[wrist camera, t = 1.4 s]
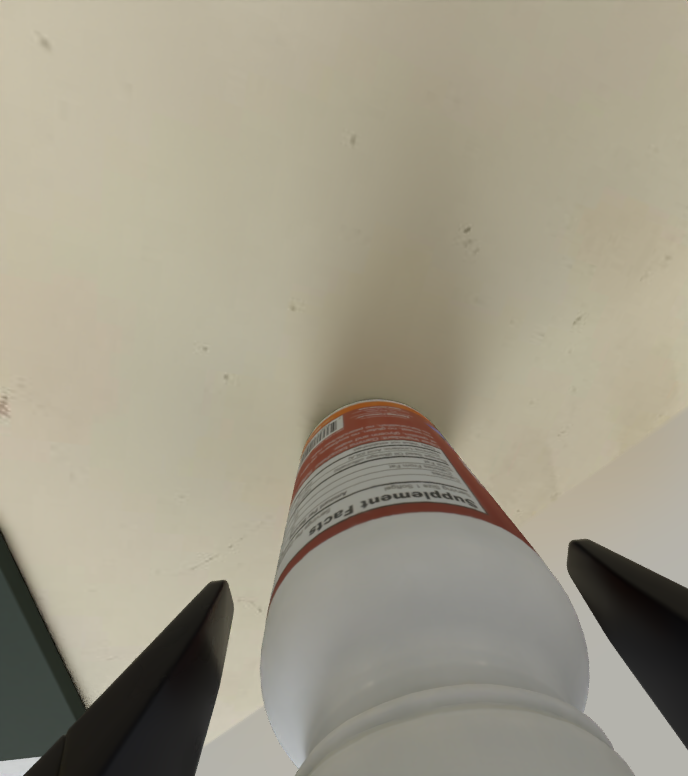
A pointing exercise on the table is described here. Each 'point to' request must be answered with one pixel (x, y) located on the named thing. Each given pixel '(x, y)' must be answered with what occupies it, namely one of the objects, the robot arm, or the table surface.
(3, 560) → the mat
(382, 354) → the table surface
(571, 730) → the pill bottle
